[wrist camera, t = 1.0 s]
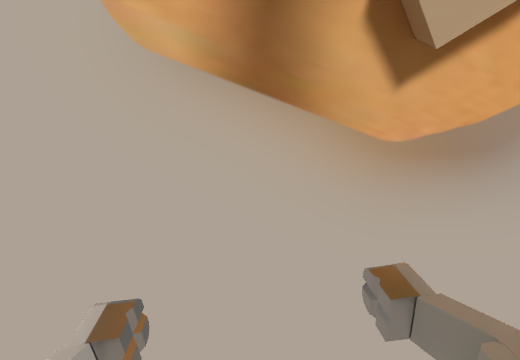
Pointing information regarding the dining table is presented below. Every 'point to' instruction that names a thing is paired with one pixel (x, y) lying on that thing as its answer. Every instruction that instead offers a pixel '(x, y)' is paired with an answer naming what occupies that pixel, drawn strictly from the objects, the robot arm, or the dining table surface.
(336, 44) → the dining table surface
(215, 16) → the dining table surface
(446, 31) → the sleeve
